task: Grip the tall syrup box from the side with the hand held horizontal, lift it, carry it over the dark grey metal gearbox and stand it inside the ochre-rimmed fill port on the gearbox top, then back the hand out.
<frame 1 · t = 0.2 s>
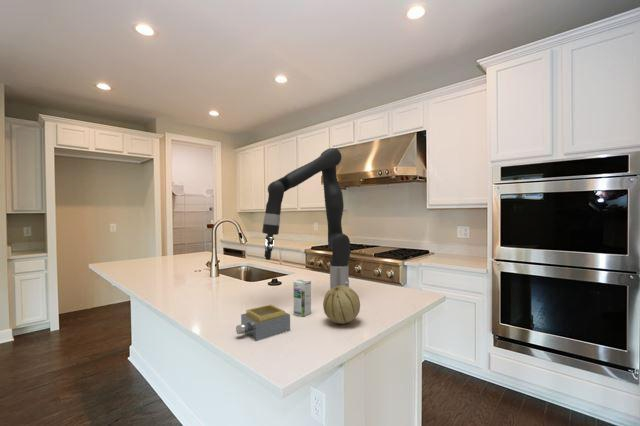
hand: (267, 258, 142), 23 cm above the counter, tool pointing down, fingers open, 8 cm apart
cantaloupe: (341, 323, 122), on the counter
syrup box: (302, 314, 132), on the counter
gearbox: (265, 330, 114), on the counter
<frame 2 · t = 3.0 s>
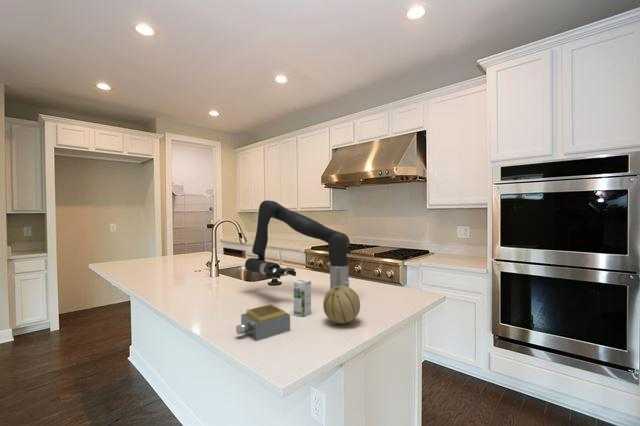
hand: (287, 275, 141), 15 cm above the counter, tool horizontal, fingers open, 8 cm apart
nothing on the counter moved.
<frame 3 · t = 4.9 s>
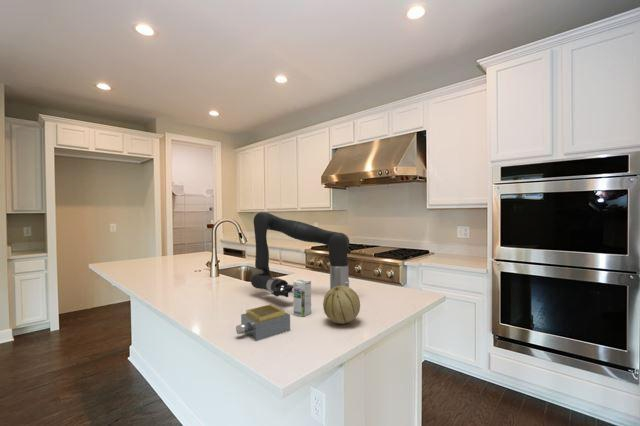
hand: (295, 293, 136), 8 cm above the counter, tool horizontal, fingers open, 8 cm apart
nothing on the counter moved.
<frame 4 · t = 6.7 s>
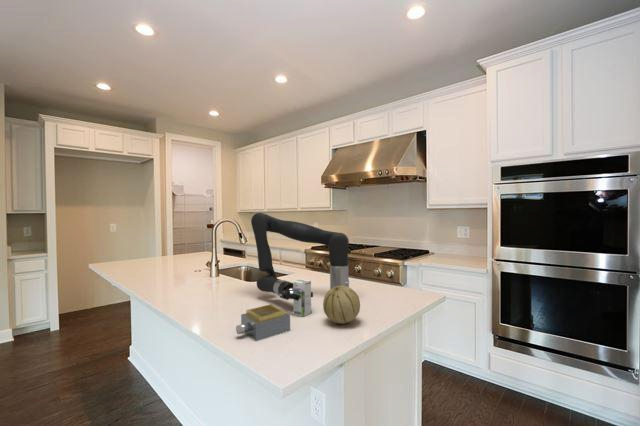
hand: (305, 296, 130), 8 cm above the counter, tool horizontal, fingers closed on syrup box, 6 cm apart
syrup box: (302, 314, 132), on the counter, touching gripper
everything else where it was.
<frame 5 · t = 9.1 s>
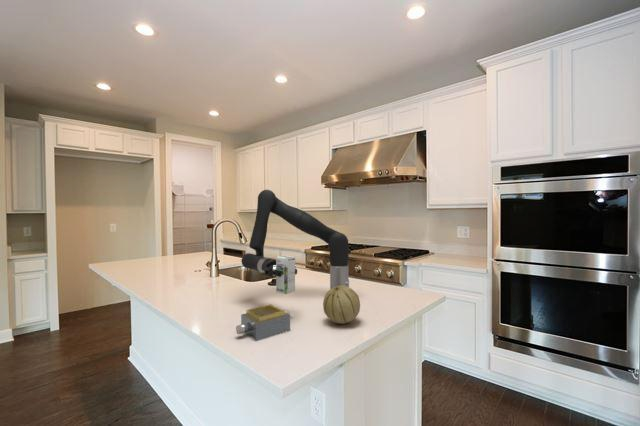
hand: (288, 273, 123), 20 cm above the counter, tool horizontal, fingers closed on syrup box, 6 cm apart
syrup box: (285, 292, 125), point 11 cm above the counter, touching gripper
everything else where it was.
when the fingers open (15 cm above the counter, at t = 11.7 s): syrup box stays where it is, resting on gearbox.
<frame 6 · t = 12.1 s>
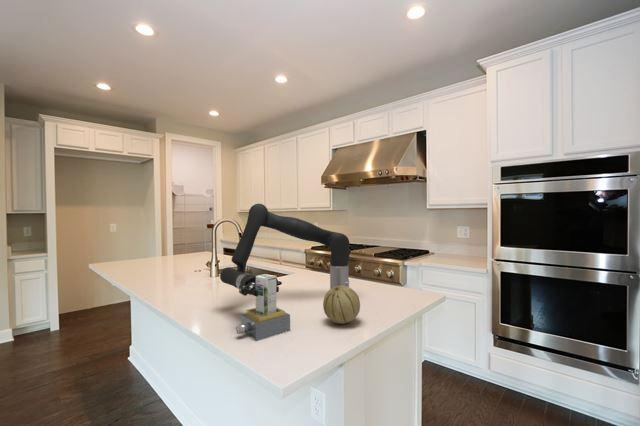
hand: (267, 291, 113), 15 cm above the counter, tool horizontal, fingers open, 8 cm apart
syrup box: (266, 314, 115), point 6 cm above the counter, touching gearbox
everything else where it was.
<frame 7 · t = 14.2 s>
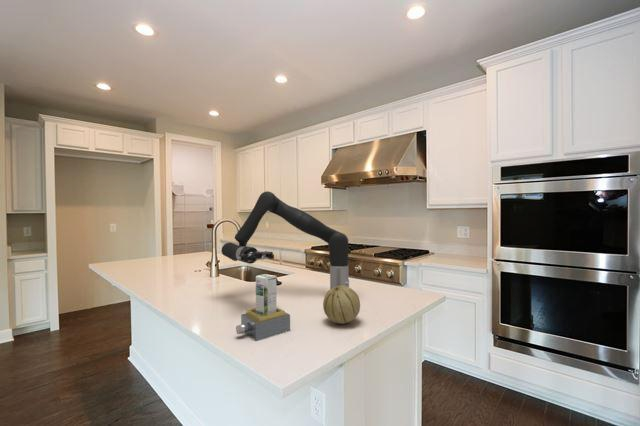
hand: (264, 257, 130), 25 cm above the counter, tool horizontal, fingers open, 8 cm apart
nothing on the counter moved.
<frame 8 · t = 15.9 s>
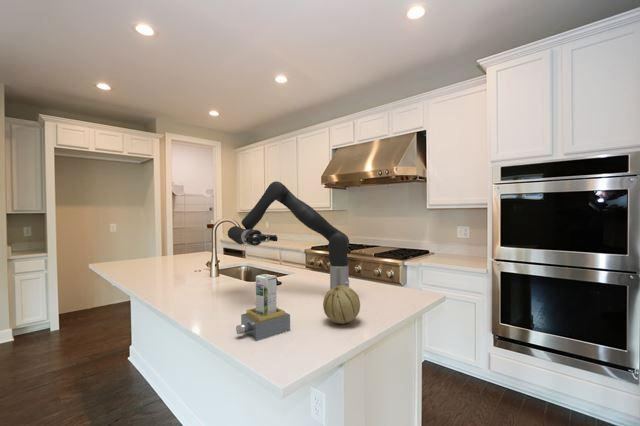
hand: (268, 239, 136), 32 cm above the counter, tool horizontal, fingers open, 8 cm apart
nothing on the counter moved.
at the end: syrup box inside the target area on the gearbox (0.5 cm from its centre), point 5.8 cm above the gearbox's base; syrup box tilted 0°; the gripper is holding nothing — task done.
